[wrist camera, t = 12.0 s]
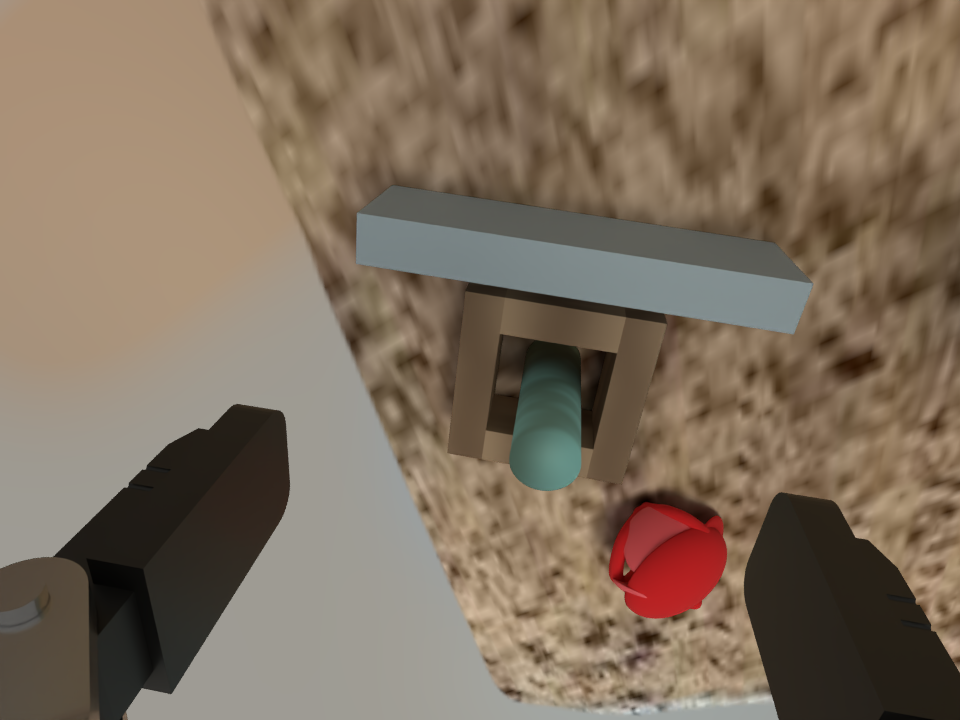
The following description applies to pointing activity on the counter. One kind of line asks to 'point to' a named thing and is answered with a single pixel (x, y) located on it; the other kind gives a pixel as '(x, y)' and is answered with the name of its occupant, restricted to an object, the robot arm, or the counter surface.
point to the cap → (667, 560)
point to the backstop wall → (583, 257)
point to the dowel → (548, 418)
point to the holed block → (617, 330)
